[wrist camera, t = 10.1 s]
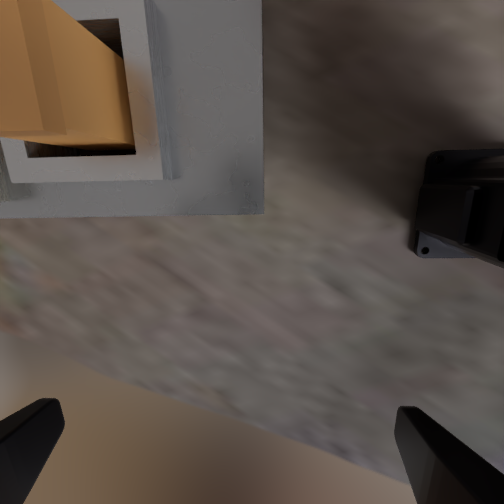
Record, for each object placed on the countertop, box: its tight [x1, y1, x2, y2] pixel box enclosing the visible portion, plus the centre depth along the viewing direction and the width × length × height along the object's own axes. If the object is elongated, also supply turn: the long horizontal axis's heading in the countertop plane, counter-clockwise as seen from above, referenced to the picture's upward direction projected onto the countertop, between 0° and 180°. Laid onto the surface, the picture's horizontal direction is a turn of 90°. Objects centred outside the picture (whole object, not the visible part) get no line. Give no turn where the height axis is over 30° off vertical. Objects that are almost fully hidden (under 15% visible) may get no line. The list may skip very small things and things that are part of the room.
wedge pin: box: [0, 0, 136, 151], centre depth 12 cm, size 5×5×9 cm
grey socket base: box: [0, 0, 264, 218], centre depth 14 cm, size 18×12×4 cm, turn 91°
